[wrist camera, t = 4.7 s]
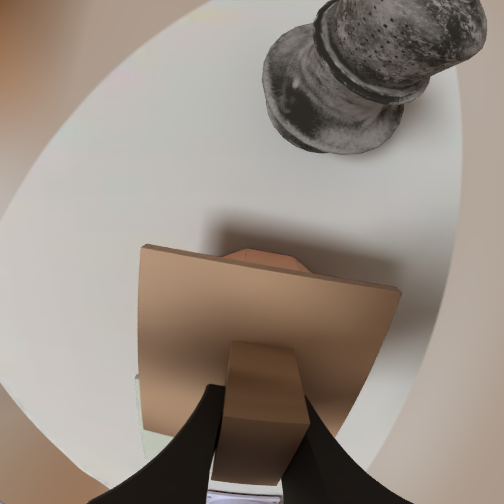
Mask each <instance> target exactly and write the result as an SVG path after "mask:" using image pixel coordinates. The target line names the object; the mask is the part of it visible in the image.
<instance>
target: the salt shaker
mask: <svg viewBox="0 0 504 504" xmlns="http://www.w3.org/2000/svg"><path fill="white" fill-rule="evenodd" d="M486 34H487V20H486V16H485V13H484V10H483V7H482V5H481V3H480V1H479V0H330V1H328V2H327V3H326V4H325V5H324V6H323V7H322V8H321V9H320V10H319V11H318V13H317V15H316V18H315V20H314V22H313V23H310V24H306V25H302V26H298V27H295V28H294V29H292V30H290V31H288V32H286V33H285V34H283V35H282V36H281V37H280V38H279V39H278V40H277V41H276V42H275V43H274V44H273V45H272V46H271V48H270V50H269V52H268V54H267V56H266V59H265V61H264V66H263V75H262V82H263V88H264V93H265V98H266V105H267V110H268V115H269V117H270V119H271V121H272V123H273V125H274V127H275V128H276V129H277V131H278V132H279V133H280V134H281V135H282V137H283V138H285V139H286V140H287V141H289V142H290V143H292V144H293V145H294V146H296V147H299V148H301V149H304V150H306V151H309V152H316V153H335V154H341V155H346V154H358V153H363V152H366V151H369V150H371V149H374V148H377V147H378V146H380V145H381V144H382V143H384V142H385V141H386V140H387V139H389V138H390V137H391V136H392V134H393V133H394V131H395V130H396V128H397V127H398V125H399V123H400V120H401V117H402V113H403V110H404V103H407V102H410V101H413V100H415V99H416V98H417V97H418V96H420V95H421V94H422V93H423V92H424V90H425V89H426V87H427V85H428V84H429V80H430V76H432V75H434V74H436V73H439V72H441V71H443V70H445V69H448V68H450V67H452V66H454V65H457V64H459V63H461V62H463V61H466V60H468V59H470V58H471V57H473V56H474V55H475V54H477V53H478V52H479V51H480V50H481V49H482V48H483V45H484V43H485V41H486Z"/></svg>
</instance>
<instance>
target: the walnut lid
mask: <svg viewBox="0 0 504 504" xmlns="http://www.w3.org/2000/svg"><path fill="white" fill-rule="evenodd" d="M401 293H402V292H401V291H400V290H398V289H397V288H396V287H393V286H386V285H380V284H374V283H368V282H362V281H356V280H350V279H344V278H338V277H332V276H326V275H320V274H314V273H308V272H302V271H296V270H290V269H285V268H279V267H273V266H267V265H261V264H256V263H250V262H244V261H239V260H233V259H227V258H222V257H216V256H211V255H205V254H200V253H194V252H189V251H183V250H178V249H172V248H167V247H161V246H156V245H151V244H145V245H144V246H142V247H141V252H140V267H139V287H138V367H139V386H140V400H141V411H142V422H143V429H144V430H147V431H151V432H155V433H158V434H162V435H166V436H171V437H175V436H176V434H177V433H178V432H179V431H180V429H181V428H182V427H183V426H184V424H185V423H186V422H187V420H188V419H189V417H190V416H191V414H192V413H193V411H194V410H195V408H196V407H197V405H198V403H199V401H200V400H201V398H202V396H203V394H204V391H205V389H206V386H207V385H208V384H215V385H221V386H226V387H225V397H224V407H223V412H222V417H221V422H220V427H219V433H218V438H217V443H216V448H215V452H214V460H213V468H212V476H211V480H214V481H222V482H230V483H239V484H251V485H269V486H277V484H278V482H279V481H280V479H281V477H282V476H283V474H284V472H285V470H286V469H287V467H288V465H289V463H290V462H291V460H292V458H293V456H294V454H295V453H296V451H297V449H298V447H299V445H300V443H301V441H302V439H303V437H304V435H305V433H306V431H307V429H308V427H309V425H310V420H309V415H308V411H307V406H306V402H305V397H304V395H306V396H307V398H308V399H309V401H310V403H311V404H312V406H313V407H314V409H315V410H316V412H317V414H318V415H319V417H320V418H321V420H322V421H323V423H324V424H325V426H326V427H327V428H328V430H329V431H330V432H331V434H332V435H333V437H334V438H335V436H336V435H337V433H338V431H339V430H340V428H341V426H342V425H343V423H344V421H345V419H346V418H347V416H348V414H349V412H350V410H351V408H352V407H353V405H354V403H355V401H356V399H357V397H358V395H359V393H360V391H361V389H362V387H363V385H364V383H365V381H366V379H367V377H368V375H369V373H370V371H371V368H372V366H373V364H374V362H375V360H376V357H377V355H378V353H379V350H380V348H381V346H382V343H383V341H384V339H385V336H386V334H387V331H388V329H389V326H390V323H391V321H392V318H393V315H394V313H395V310H396V307H397V304H398V302H399V299H400V296H401Z"/></svg>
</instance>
